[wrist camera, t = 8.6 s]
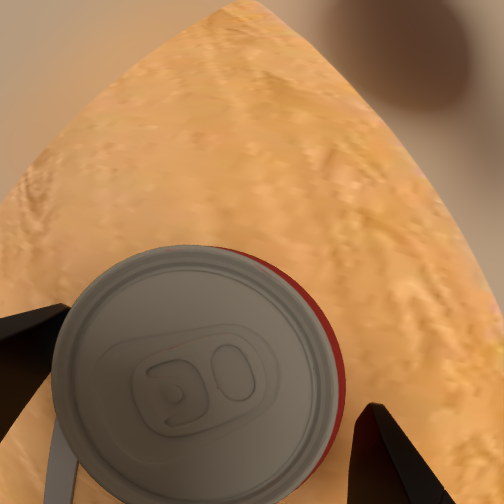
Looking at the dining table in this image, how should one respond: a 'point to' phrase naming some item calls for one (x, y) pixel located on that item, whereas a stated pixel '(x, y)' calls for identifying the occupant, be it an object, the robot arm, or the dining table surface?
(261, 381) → the beverage can
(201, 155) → the dining table surface
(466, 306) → the dining table surface
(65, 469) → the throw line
